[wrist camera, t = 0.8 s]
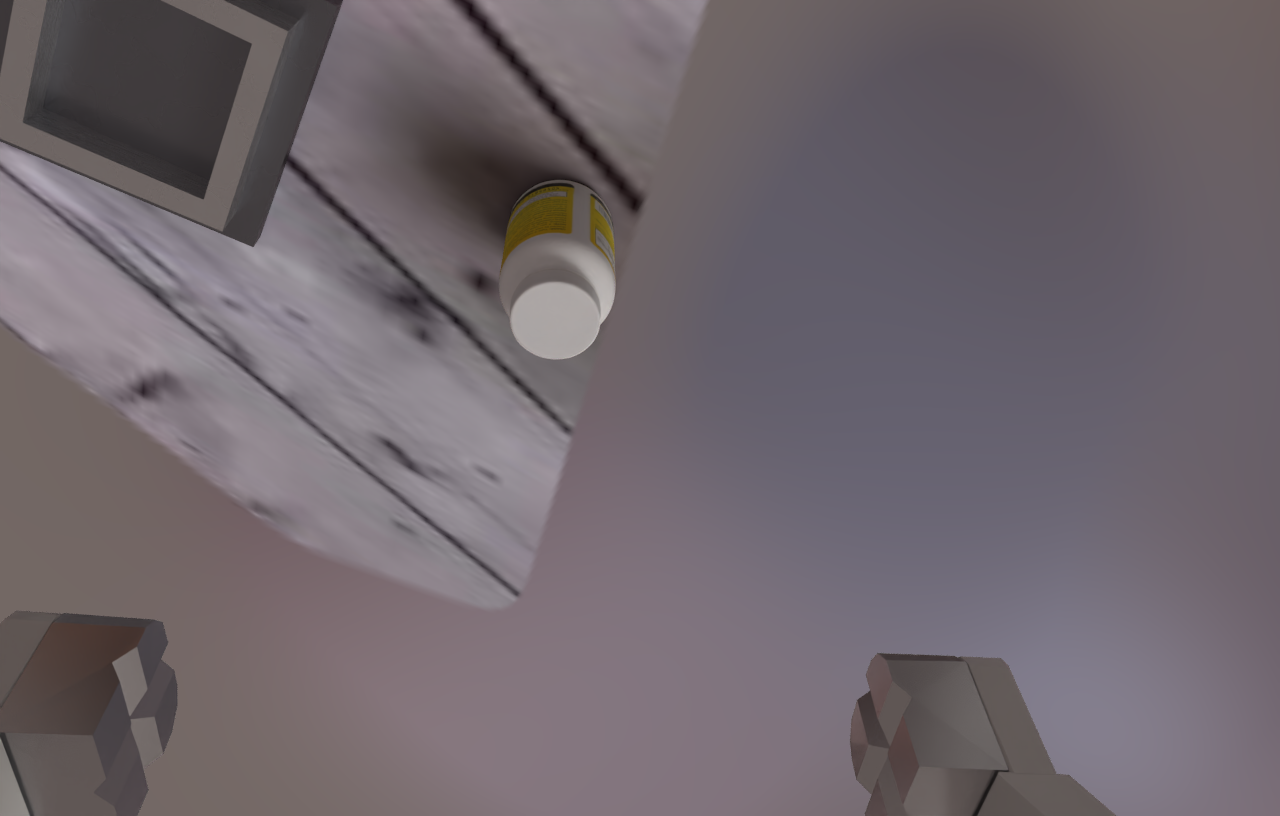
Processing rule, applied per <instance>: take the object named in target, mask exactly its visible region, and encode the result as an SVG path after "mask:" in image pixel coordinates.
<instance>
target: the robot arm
mask: <svg viewBox="0 0 1280 816" xmlns="http://www.w3.org/2000/svg"><path fill="white" fill-rule="evenodd" d="M167 645H168V640H167V636H166V632H165V629H164V625H163V622H161V621H157V620H151V619H137V618H123V617H109V616H95V615H81V614H68V613H67V614H66V613H64V614H60V613H59V614H58V613H44V612H30V611H29V612H28V611H15V612H14V613H12V614H11V615H10V616H8V617H7V618H5V619H4V620H3V621H2V622H1V623H0V816H138V813H139V811H140V809H141V806H142V804H143V802H144V799H145V797H146V795H147V792H148V785H147V782H146V778H145V773H144V769H145V768H146V767H148V766H149V765H150V764H151V763H153V762H154V761H155V760H157V759H158V758H159V757H160V756H162V755H163V754H164V751H165V748H166V746H167V743H168V741H169V738H170V736H171V733H172V730H173V725H174V720H175V715H176V710H177V681H176V676H175V671H174V670H173V669H172V668H171V667H170V666H169V665H167V664H166V663H165V662H164V661H163V660H161V658H162V656H163V653H164V651H165V649H166V647H167ZM866 677H867V681H868V684H869V688H870V691H869V692H868V693H866V694H865V695H864V696H862V697H861V698H859V699H858V700H857V702H856V706H855V709H854V713H853V716H852V720H851V735H850V746H851V756H852V762H853V766H854V771H855V776H856V780H857V781H858V782H859V783H860V784H862V786H863V787H864V788H865V789H866V790H867V791H868V792H869V793H870V794H871V798H870V801H869V803H868V806H867V809H866V812H865V816H1116V815H1115V814H1114V813H1113V812H1111V811H1110V810H1109V809H1108V808H1107V807H1106V806H1104V805H1103V804H1102V803H1101V802H1100V801H1099V800H1097V799H1096V798H1095V797H1094V796H1093V795H1092V794H1091V793H1089V792H1088V791H1087V790H1086V789H1085V788H1084V787H1082V786H1081V785H1080V784H1079V783H1078V782H1077V781H1075V780H1074V779H1073V778H1072V777H1071V776H1070V775H1063V774H1056V772H1055V769H1054V767H1053V765H1052V763H1051V760H1050V758H1049V756H1048V754H1047V751H1046V749H1045V747H1044V745H1043V742H1042V740H1041V738H1040V736H1039V733H1038V731H1037V729H1036V727H1035V724H1034V722H1033V720H1032V718H1031V716H1030V713H1029V711H1028V709H1027V706H1026V705H1025V702H1024V700H1023V697H1022V695H1021V693H1020V691H1019V689H1018V686H1017V684H1016V682H1015V679H1014V677H1013V675H1012V673H1011V670H1010V668H1009V666H1008V665H1007V664H1006V663H1005V662H1004V661H1003V660H1002V659H1001V658H982V657H955V656H941V655H913V654H884V653H877V654H876V655H875V657H874V658H873V659H872V660H871V662H870V665H869V667H868V670H867V673H866Z"/></svg>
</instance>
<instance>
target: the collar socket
mask: <svg viewBox="0 0 1280 816" xmlns="http://www.w3.org/2000/svg"><path fill="white" fill-rule="evenodd" d="M342 1H343V0H0V141H1V142H3V143H6V144H8V145H11V146H13V147H15V148H18V149H20V150H23V151H25V152H27V153H30V154H32V155H35V156H37V157H39V158H42V159H44V160H46V161H49V162H51V163H54V164H56V165H58V166H61V167H63V168H66V169H68V170H70V171H73V172H75V173H78V174H80V175H82V176H85V177H87V178H89V179H92V180H94V181H97V182H99V183H101V184H104V185H106V186H109V187H111V188H113V189H116V190H118V191H121V192H123V193H125V194H128V195H130V196H132V197H135V198H137V199H140V200H142V201H144V202H147V203H149V204H152V205H154V206H156V207H159V208H161V209H163V210H166V211H168V212H171V213H173V214H175V215H178V216H180V217H183V218H185V219H187V220H190V221H192V222H195V223H197V224H199V225H202V226H204V227H206V228H209V229H211V230H214V231H216V232H218V233H221V234H223V235H226V236H228V237H230V238H233V239H235V240H238V241H240V242H242V243H245V244H247V245H249V246H252V247H254V245H255V244H256V242H257V241H258V239H259V238H260V235H261V233H262V230H263V227H264V224H265V221H266V218H267V215H268V213H269V210H270V207H271V204H272V201H273V198H274V195H275V193H276V190H277V187H278V184H279V181H280V178H281V175H282V173H283V170H284V167H285V164H286V161H287V158H288V155H289V153H290V150H291V147H292V144H293V141H294V138H295V135H296V133H297V130H298V127H299V124H300V121H301V118H302V116H303V113H304V110H305V107H306V104H307V101H308V98H309V96H310V93H311V90H312V87H313V84H314V81H315V78H316V76H317V73H318V70H319V67H320V64H321V61H322V58H323V56H324V53H325V50H326V47H327V44H328V41H329V38H330V36H331V33H332V30H333V27H334V24H335V21H336V18H337V16H338V13H339V10H340V7H341V4H342Z"/></svg>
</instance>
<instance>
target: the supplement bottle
mask: <svg viewBox="0 0 1280 816" xmlns="http://www.w3.org/2000/svg"><path fill="white" fill-rule="evenodd" d="M499 293H500V298H501V302H502V305H503V307H504V310H505V311H506V313H507V315H508V316H509V317H510V326H511V330H512V333H513V335H514V336H515V338H516V340H517V341H518V342H519V343H520V345H521V346H523V347H524V348H525V349H526V350H528V351H529V352H531V353H532V354H534V355H537V356H539V357H543V358H547V359H565V358H570V357H573V356H575V355H578V354H580V353H581V352H583V351H584V350H586V349H587V348H588V347H589V346H590V345H591V344H592V343H593V341H594V340H595V338H596V336H597V334H598V332H599V328H600V324H601V323H602V322H603V321H604V320H605V318H606V317H607V315H608V313H609V312H610V309H611V307H612V304H613V301H614V296H615V259H614V231H613V223H612V219H611V215H610V212H609V210H608V208H607V206H606V205H605V203H604V202H603V200H602V199H601V198H600V197H599V196H598V195H597V194H596V193H595V192H594V191H592V190H591V189H589V188H588V187H586V186H584V185H582V184H579V183H576V182H573V181H568V180H551V181H546V182H542V183H540V184H537V185H535V186H533V187H532V188H530V189H529V190H527V191H526V192H525V193H524V194H523V195H522V196H521V197H520V198H519V199H518V200H517V202H516V203H515V205H514V207H513V209H512V212H511V215H510V218H509V222H508V226H507V232H506V239H505V246H504V252H503V259H502V265H501V271H500V277H499Z"/></svg>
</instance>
